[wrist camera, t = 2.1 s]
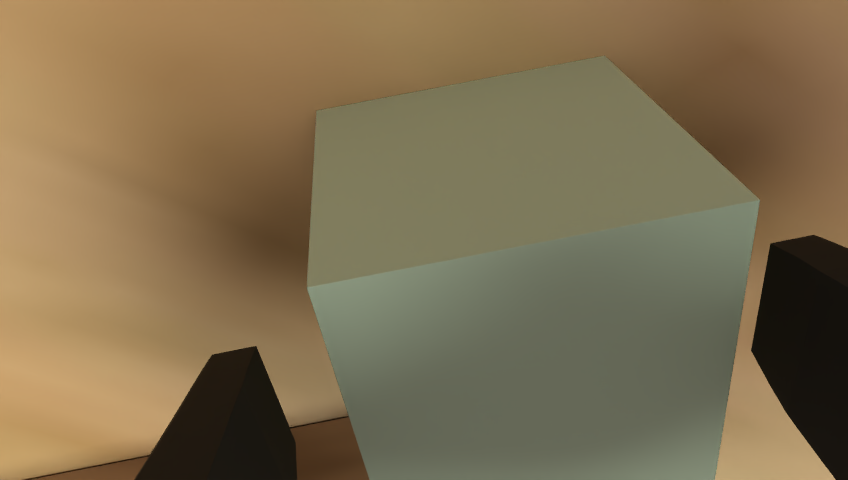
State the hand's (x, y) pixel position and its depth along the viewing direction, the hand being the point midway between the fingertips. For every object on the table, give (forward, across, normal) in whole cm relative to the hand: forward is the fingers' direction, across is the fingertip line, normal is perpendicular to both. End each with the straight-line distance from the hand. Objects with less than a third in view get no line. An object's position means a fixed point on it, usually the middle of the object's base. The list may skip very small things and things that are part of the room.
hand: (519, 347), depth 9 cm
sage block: (+4, 0, 0) cm, 4 cm away
